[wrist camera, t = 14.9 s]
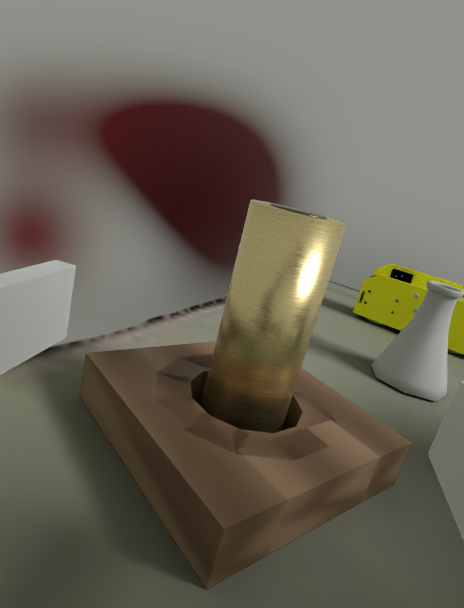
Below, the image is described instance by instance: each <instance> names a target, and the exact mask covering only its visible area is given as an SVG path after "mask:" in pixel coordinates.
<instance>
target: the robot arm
mask: <svg viewBox="0 0 464 608" xmlns="http://www.w3.org/2000/svg"><path fill="white" fill-rule="evenodd" d="M75 267H76V266H75V265H71V264H68V263H65V262H61V261H58V260H54V261H50V262H46V263H42V264H38V265H34V266H30V267H26V268H22V269H18V270H14V271H10V272H6V273H3V274H0V375H1V374H3V373H4V372H6V371H8V370H10V369H11V368H13V367H15V366H17V365H19V364H20V363H22V362H24V361H26V360H27V359H29V358H31V357H33V356H34V355H36V354H38V353H40V352H41V351H43V350H45V349H47V348H49V347H50V346H52V345H54V344H55V343H57V342H59V341H61V340H63V339H64V338H66V337H67V329H68V321H69V314H70V306H71V297H72V291H73V283H74V276H75ZM428 456H429V458H430V460H431V463H432V465H433V468H434V470H435V473H436V475H437V478H438V480H439V483H440V485H441V487H442V490H443V492H444V495H445V497H446V500H447V502H448V505H449V507H450V510H451V512H452V515H453V517H454V519H455V522H456V524H457V527H458V529H459V532H460V534H461V537H462V539H463V542H464V381H462V380H461V381H460V383H459V385H458V388H457V390H456V392H455V394H454V397H453V399H452V401H451V403H450V405H449V408H448V410H447V412H446V414H445V417H444V419H443V421H442V423H441V425H440V428H439V430H438V432H437V434H436V437H435V439H434V441H433V443H432V445H431V448H430V450H429V452H428Z"/></svg>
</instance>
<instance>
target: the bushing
mask: <svg viewBox="0 0 464 608" xmlns="http://www.w3.org/2000/svg"><path fill="white" fill-rule="evenodd" d="M345 228H346V224H345V223H343V222H340V221H338V220H334V219H331V218H328V217H325V216H322V215H319V214H315V213H312V212H308V211H304V210H301V209H297V208H293V207H288V206H283V205H279V204H274V203H269V202H264V201H258V200H251V201H250V205H249V210H248V214H247V218H246V222H245V226H244V230H243V234H242V238H241V242H240V246H239V250H238V255H237V259H236V263H235V267H234V271H233V275H232V279H231V283H230V287H229V291H228V295H227V299H226V303H225V308H224V312H223V316H222V320H221V324H220V328H219V332H218V336H217V340H216V344H215V348H214V352H213V357H212V361H211V365H210V369H209V373H208V377H207V381H206V385H205V389H204V393H203V397H202V402H201V407H202V408H203V409H204V410H205V411H206V412H207V413H208V414H209V415H210V416H212V417H214V418H216V419H218V420H221V421H223V422H225V423H227V424H230V425H232V426H234V427H236V428H239V429H241V430H250V431H258V432H266V433H276V432H280V431H281V430H282V427H283V424H284V420H285V417H286V414H287V411H288V408H289V405H290V402H291V398H292V395H293V392H294V389H295V386H296V383H297V379H298V376H299V373H300V370H301V367H302V364H303V361H304V357H305V354H306V351H307V348H308V345H309V342H310V338H311V335H312V332H313V329H314V326H315V323H316V319H317V316H318V313H319V310H320V307H321V304H322V301H323V297H324V294H325V291H326V288H327V285H328V282H329V278H330V275H331V272H332V269H333V266H334V262H335V260H336V256H337V253H338V250H339V247H340V244H341V240H342V237H343V234H344V231H345Z"/></svg>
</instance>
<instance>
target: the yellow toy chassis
mask: <svg viewBox="0 0 464 608" xmlns="http://www.w3.org/2000/svg"><path fill="white" fill-rule="evenodd" d="M397 268H398V269H401V270H402V271H400V270H396V269H397ZM402 275H403V276H402ZM395 276H398V277H395ZM401 276H402V277H401ZM427 281H436V282H440V283H444V284H447V285H450V286H453V287H456V288H459V289H460V290H462V291H463V292H464V286H463V285H460V284H457V283H453V282H450V281H447V280H444V279H441V278H437V277H434V276H431V275H427V274H424V273H421V272H418V271H415V270H411V269H408V268H405V267H402V266H399V265H395V264H392V263H391V264H389V265H386V266H383V267H381V268H378V269H376V270H375V272H374V274H373V276H371V277H370V278H367V279H364V281H363V284H362V287H361V290H360V293H359V296H358V299H357V302H356V304H355V307H354V310H353V313H356V314H358V315H361V316H363V317H366V318H367V319H368V320H369V321H371V322H373V323H376V324H379V325H383V326H390V327H392V328H395V329H398V330H400V332H401V331H402V330H403V329H404V328H405V326H406V325H407V324H408V323H409V322H410V321H411V319H412V318H413V317H414V315H415V313H416V312H417V310H418V309H419V307H420V305H421V304H422V302H423V300H424V297H425V295H426V293H427V289H428V288H427V287H426V283H427ZM448 351H449V352H452V353H455V354H464V295H463V296H462V297H461V298H458V300H457V302H456V305H455V307H454V310H453V312H452V317H451V321H450V326H449V331H448Z"/></svg>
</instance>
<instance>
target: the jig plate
mask: <svg viewBox="0 0 464 608" xmlns="http://www.w3.org/2000/svg"><path fill="white" fill-rule="evenodd" d="M215 344H216V341H215V342H204V343H193V344H182V345H171V346H160V347H149V348H137V349H126V350H115V351H104V352H93V353H86V357H85V364H84V371H83V378H82V385H81V391H80V397H81V399H82V401H83V402H84V404H85V405H86V407H87V408H88V410H89V411H90V413H91V414H92V416H93V417H94V419H95V420H96V422H97V423H98V425H99V426H100V428H101V429H102V431H103V432H104V434H105V436H106V437H107V439H108V440H109V442H110V443H111V445H112V446H113V448H114V449H115V451H116V452H117V454H118V455H119V457H120V458H121V460H122V461H123V463H124V464H125V466H126V467H127V469H128V470H129V472H130V474H131V475H132V477H133V478H134V480H135V481H136V483H137V484H138V486H139V487H140V489H141V490H142V492H143V493H144V495H145V496H146V498H147V499H148V501H149V502H150V504H151V505H152V507H153V508H154V510H155V512H156V513H157V515H158V516H159V518H160V519H161V521H162V522H163V524H164V525H165V527H166V528H167V530H168V531H169V533H170V534H171V536H172V537H173V539H174V540H175V542H176V543H177V545H178V547H179V548H180V550H181V551H182V553H183V554H184V556H185V557H186V559H187V560H188V562H189V563H190V565H191V566H192V568H193V569H194V571H195V572H196V574H197V575H198V577H199V578H200V580H201V581H202V583H203V585H204V586H205V588H206V589H207V588H209V587H211V586H213V585H214V584H216V583H218V582H220V581H222V580H223V579H225V578H227V577H229V576H230V575H232V574H234V573H236V572H238V571H239V570H241V569H243V568H245V567H247V566H248V565H250V564H252V563H254V562H255V561H257V560H259V559H261V558H263V557H264V556H266V555H268V554H270V553H271V552H273V551H275V550H277V549H279V548H280V547H282V546H284V545H286V544H288V543H289V542H291V541H293V540H295V539H296V538H298V537H300V536H302V535H304V534H305V533H307V532H309V531H311V530H313V529H314V528H316V527H318V526H320V525H321V524H323V523H325V522H327V521H329V520H330V519H332V518H334V517H336V516H338V515H339V514H341V513H343V512H345V511H346V510H348V509H350V508H352V507H354V506H355V505H357V504H359V503H361V502H363V501H364V500H366V499H368V498H370V497H371V496H373V495H375V494H377V493H379V492H380V491H382V490H384V489H386V488H388V487H389V486H391V485H393V484H394V483H395V480H396V478H397V476H398V473H399V471H400V469H401V466H402V464H403V462H404V459H405V457H406V455H407V452H408V450H409V448H410V446H411V443H412V442H411V441H409V440H408V439H406V438H405V437H403V436H402V435H400V434H399V433H397V432H396V431H394V430H393V429H391V428H390V427H388V426H387V425H385V424H384V423H382V422H381V421H379V420H378V419H376V418H375V417H373V416H372V415H370V414H369V413H367V412H366V411H364V410H363V409H361V408H360V407H358V406H357V405H355V404H354V403H353V402H351V401H350V400H348V399H347V398H345V397H344V396H342V395H341V394H339V393H338V392H336V391H335V390H333V389H332V388H330V387H329V386H327V385H326V384H324V383H323V382H321V381H320V380H318V379H317V378H315V377H314V376H312V375H311V374H309V373H308V372H306V371H305V370H303V369H302V368H301V370H300V373H299V376H298V379H297V383H296V386H295V389H294V392H293V395H292V398H291V402H290V405H289V408H288V411H287V414H286V417H285V420H284V424H283V427H282V430H281V431H280V432H276V433H266V432H258V431H250V430H241V429H239V428H236V427H234V426H232V425H230V424H227V423H225V422H223V421H221V420H218V419H216V418H214V417H212V416H210V415H209V414H208V413H207V412H206V411H205V410H204V409H203V408H202V407H201V402H202V397H203V393H204V389H205V385H206V381H207V377H208V373H209V369H210V365H211V361H212V357H213V352H214V348H215Z"/></svg>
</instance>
